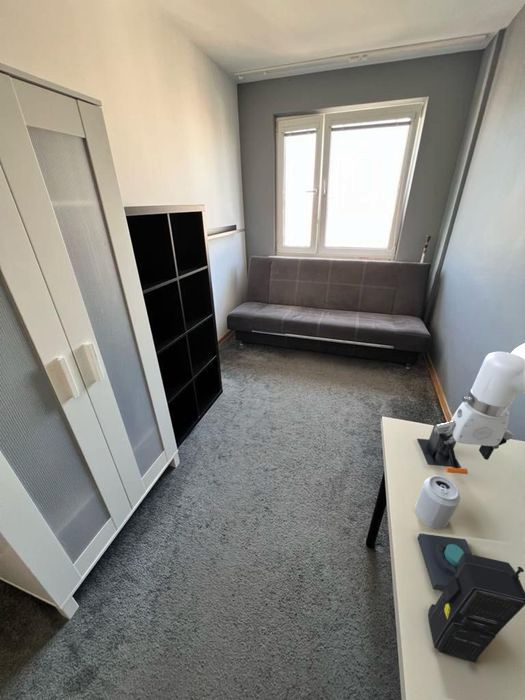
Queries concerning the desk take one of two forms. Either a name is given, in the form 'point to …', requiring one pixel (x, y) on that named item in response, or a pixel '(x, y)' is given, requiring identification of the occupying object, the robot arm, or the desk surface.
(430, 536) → the socket block
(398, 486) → the desk surface
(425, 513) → the can
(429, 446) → the kettle bracket
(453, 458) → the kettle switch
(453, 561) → the socket button
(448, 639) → the portable radio
